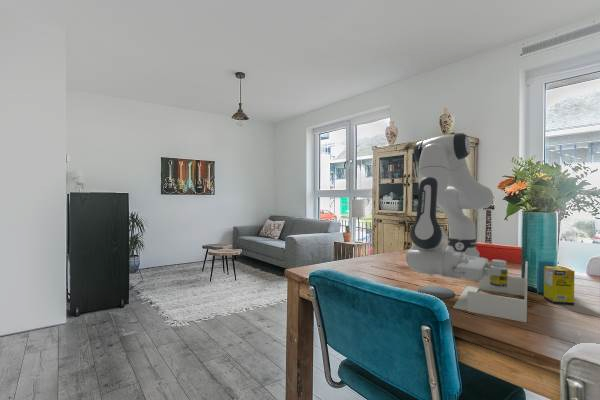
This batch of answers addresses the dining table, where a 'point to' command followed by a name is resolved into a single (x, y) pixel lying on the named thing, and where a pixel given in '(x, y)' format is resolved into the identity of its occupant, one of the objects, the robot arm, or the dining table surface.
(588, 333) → the dining table surface
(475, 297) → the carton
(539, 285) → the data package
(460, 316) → the dining table surface
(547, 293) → the supplement box
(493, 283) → the supplement bottle
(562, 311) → the dining table surface
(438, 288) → the rubber mat
